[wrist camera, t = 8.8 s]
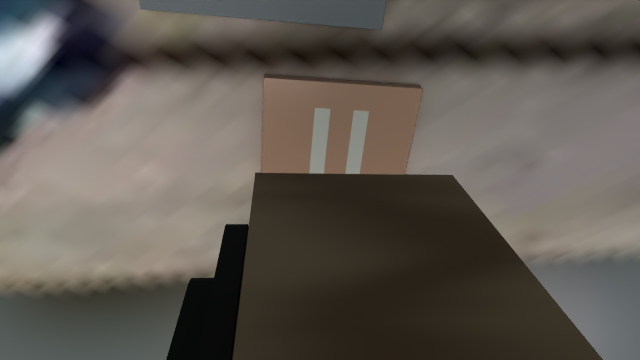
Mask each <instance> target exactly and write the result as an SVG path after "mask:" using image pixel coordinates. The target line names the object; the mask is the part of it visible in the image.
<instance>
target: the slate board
mask: <svg viewBox="0 0 640 360" xmlns="http://www.w3.org/2000/svg"><path fill="white" fill-rule="evenodd" d="M139 2H140V9H143V10H155V11H166V12H178V13H190V14H201V15H213V16H225V17H237V18H248V19H260V20H272V21H283V22H295V23H307V24H318V25H330V26H342V27H353V28H365V29H377V30H382V24H383V17H384V11H385V4H386V0H139Z"/></svg>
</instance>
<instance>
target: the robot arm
mask: <svg viewBox="0 0 640 360" xmlns="http://www.w3.org/2000/svg"><path fill="white" fill-rule="evenodd" d="M248 230H249V227H248V224H226V226H225V229H224V234H223V239H222V244H221V248H220V253H219V258H218V262H217V267H216V272H215V277H214V278H191V280H190V281H189V284H188V287H187V290H186V294H185V297H184V300H183V304H182V307H181V311H180V315H179V318H178V321H177V325H176V328H175V332H174V335H173V338H172V342H171V345H170V349H169V353H168V356H167V360H233V351H234V343H235V335H236V327H237V319H238V311H239V303H240V295H241V286H242V278H243V270H244V262H245V254H246V246H247V238H248Z"/></svg>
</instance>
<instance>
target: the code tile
mask: <svg viewBox="0 0 640 360" xmlns="http://www.w3.org/2000/svg"><path fill="white" fill-rule="evenodd" d="M422 92H423V88H422V87H420V86H419V85H406V84H391V83H377V82H363V81H349V80H335V79H321V78H307V77H293V76H278V75H264V92H263V134H262V173H320V174H403V175H405V173H406V168H407V163H408V158H409V154H410V149H411V144H412V140H413V135H414V130H415V125H416V121H417V116H418V111H419V106H420V102H421V97H422Z"/></svg>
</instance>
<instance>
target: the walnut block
mask: <svg viewBox="0 0 640 360" xmlns="http://www.w3.org/2000/svg"><path fill="white" fill-rule="evenodd" d="M233 360H603V359H602V358H601V357H600V356H599V355H598V353H597V352H596V351H595V349H594V348H593V347H592V346H591V345H590V343H589V342H588V341H587V340H586V338H585V337H584V336H583V335H582V334H581V332H580V331H579V330H578V329H577V328H576V326H575V325H574V324H573V322H572V321H571V320H570V319H569V318H568V316H567V315H566V314H565V313H564V312H563V311H562V309H561V308H560V307H559V305H558V304H557V303H556V302H555V300H554V299H553V298H552V297H551V296H550V294H549V293H548V292H547V291H546V289H545V288H544V287H543V286H542V284H541V283H540V282H539V281H538V280H537V278H536V277H535V276H534V275H533V274H532V272H531V271H530V270H529V269H528V267H527V266H526V265H525V264H524V262H523V261H522V260H521V259H520V258H519V256H518V255H517V254H516V253H515V251H514V250H513V249H512V248H511V246H510V245H509V244H508V243H507V242H506V240H505V239H504V238H503V237H502V235H501V234H500V233H499V232H498V231H497V229H496V228H495V227H494V226H493V224H492V223H491V222H490V221H489V220H488V218H487V217H486V216H485V215H484V213H483V212H482V211H481V210H480V208H479V207H478V206H477V205H476V204H475V202H474V201H473V200H472V199H471V197H470V196H469V195H468V194H467V193H466V191H465V190H464V189H463V188H462V186H461V185H460V184H459V183H458V182H457V180H456V179H455V178H454V177H453V175H403V174H320V173H255V181H254V189H253V197H252V205H251V213H250V221H249V230H248V238H247V246H246V254H245V262H244V270H243V278H242V286H241V295H240V303H239V311H238V319H237V327H236V335H235V343H234V351H233Z"/></svg>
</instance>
